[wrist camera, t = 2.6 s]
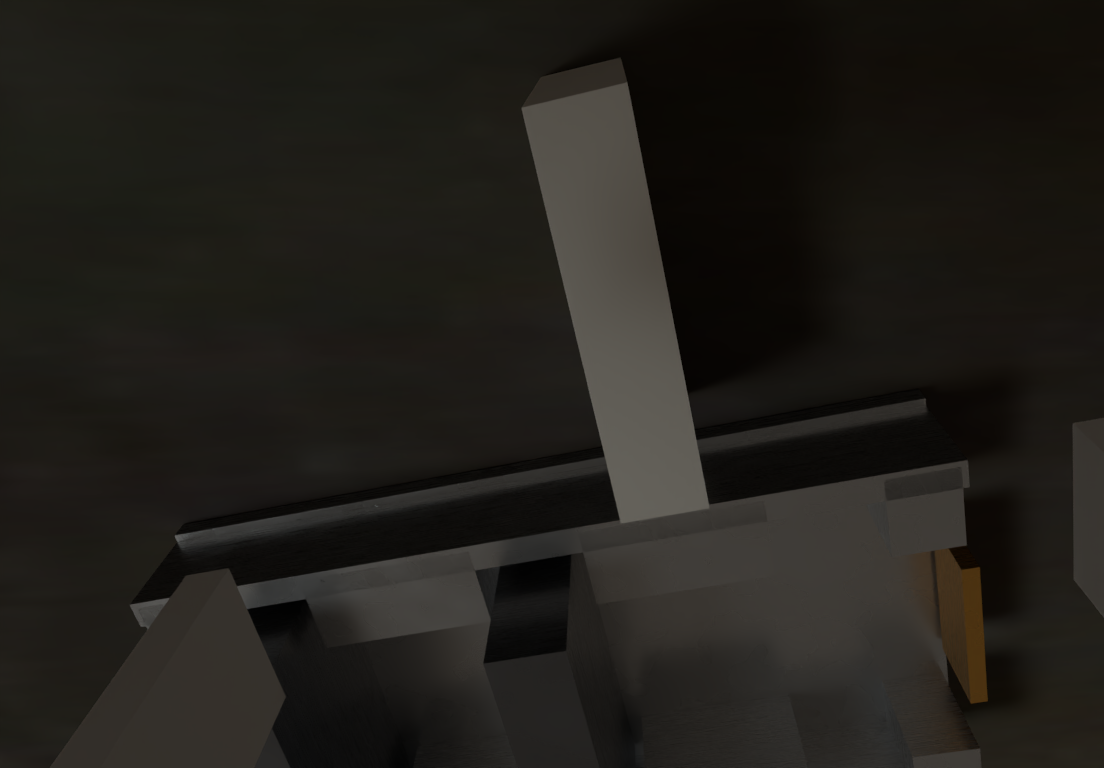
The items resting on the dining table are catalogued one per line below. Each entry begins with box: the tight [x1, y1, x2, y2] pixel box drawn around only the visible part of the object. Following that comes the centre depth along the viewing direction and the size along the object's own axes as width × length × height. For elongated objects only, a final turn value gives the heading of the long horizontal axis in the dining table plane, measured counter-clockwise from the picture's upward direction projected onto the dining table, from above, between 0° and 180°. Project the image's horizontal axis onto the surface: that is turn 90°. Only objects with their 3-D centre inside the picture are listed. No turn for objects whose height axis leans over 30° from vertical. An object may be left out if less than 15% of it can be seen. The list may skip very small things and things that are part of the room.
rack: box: [130, 389, 988, 768], centre depth 34 cm, size 29×16×9 cm, turn 103°
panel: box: [522, 57, 709, 523], centre depth 28 cm, size 3×12×8 cm, turn 13°
